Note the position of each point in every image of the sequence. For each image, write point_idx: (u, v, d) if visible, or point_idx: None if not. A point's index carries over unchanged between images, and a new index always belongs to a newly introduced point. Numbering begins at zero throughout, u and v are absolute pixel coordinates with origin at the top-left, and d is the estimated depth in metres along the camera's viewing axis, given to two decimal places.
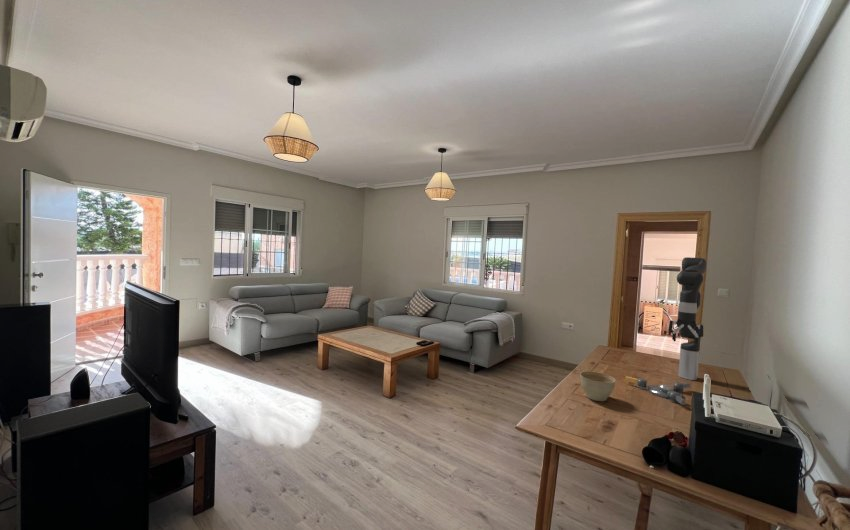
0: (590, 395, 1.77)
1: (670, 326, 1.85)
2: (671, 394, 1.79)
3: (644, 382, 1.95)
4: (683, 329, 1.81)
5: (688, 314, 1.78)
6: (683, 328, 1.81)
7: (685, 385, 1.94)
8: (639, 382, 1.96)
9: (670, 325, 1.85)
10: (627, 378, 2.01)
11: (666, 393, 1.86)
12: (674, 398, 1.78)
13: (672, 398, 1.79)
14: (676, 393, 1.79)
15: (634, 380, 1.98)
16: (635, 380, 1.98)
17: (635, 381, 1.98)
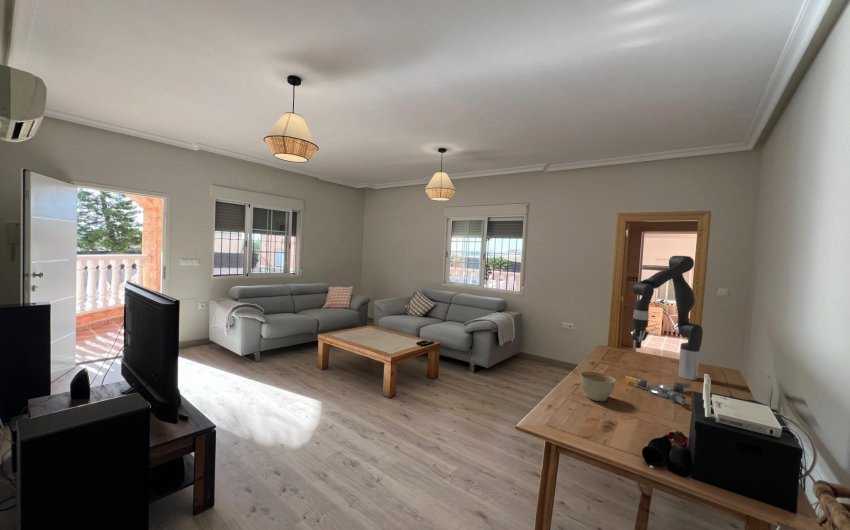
0: (590, 395, 1.77)
1: (636, 336, 2.03)
2: (671, 394, 1.79)
3: (644, 382, 1.95)
4: None
5: (647, 321, 2.02)
6: None
7: (685, 385, 1.94)
8: (639, 382, 1.96)
9: (635, 336, 2.03)
10: (627, 378, 2.01)
11: (666, 393, 1.86)
12: (674, 398, 1.78)
13: (672, 398, 1.79)
14: (676, 393, 1.79)
15: (634, 380, 1.98)
16: (635, 380, 1.98)
17: (635, 381, 1.98)
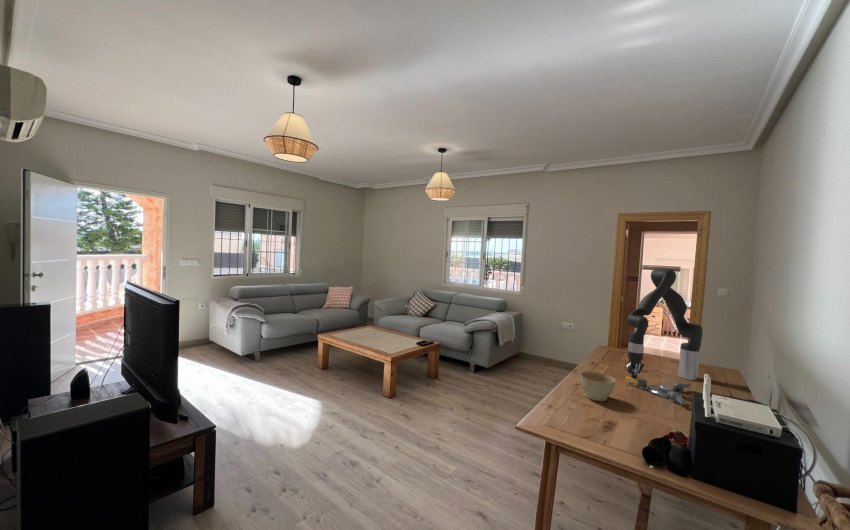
0: (590, 395, 1.77)
1: (631, 370, 1.98)
2: (671, 394, 1.79)
3: (644, 382, 1.95)
4: None
5: (642, 354, 1.98)
6: None
7: (685, 385, 1.94)
8: (639, 382, 1.96)
9: (631, 369, 1.98)
10: (627, 378, 2.00)
11: (666, 393, 1.86)
12: (674, 398, 1.78)
13: (672, 398, 1.79)
14: (676, 393, 1.79)
15: (634, 380, 1.98)
16: (635, 380, 1.98)
17: (635, 381, 1.98)
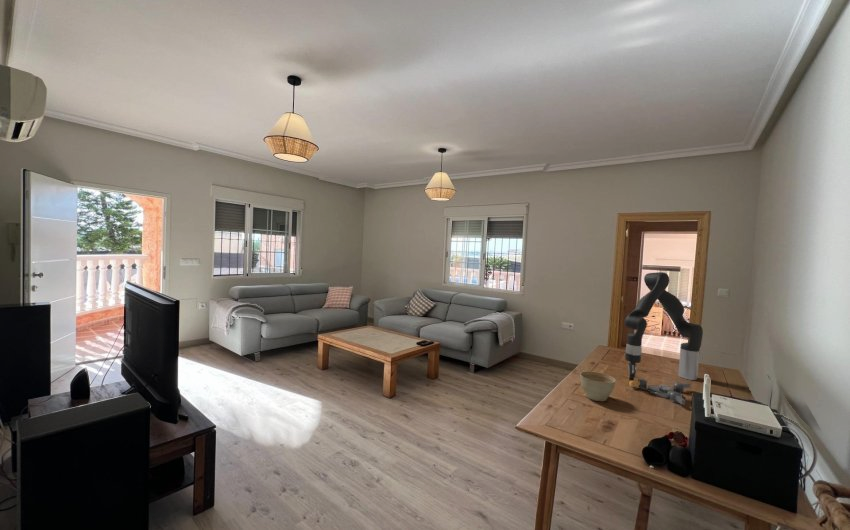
0: (590, 395, 1.77)
1: (635, 373, 1.94)
2: (671, 394, 1.79)
3: (646, 382, 1.95)
4: (634, 370, 1.96)
5: None
6: None
7: (685, 385, 1.94)
8: (643, 383, 1.95)
9: (635, 373, 1.93)
10: (632, 382, 1.94)
11: (666, 393, 1.86)
12: (674, 398, 1.78)
13: (672, 398, 1.79)
14: (676, 393, 1.79)
15: (637, 382, 1.95)
16: (638, 382, 1.95)
17: (638, 383, 1.95)
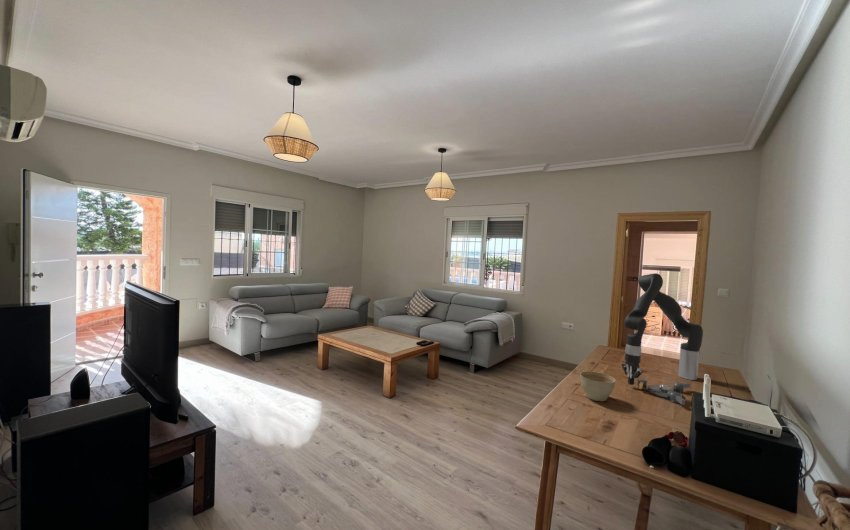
0: (590, 395, 1.77)
1: None
2: (671, 394, 1.79)
3: None
4: None
5: None
6: None
7: (685, 385, 1.94)
8: (646, 383, 1.95)
9: None
10: (642, 385, 1.91)
11: (666, 393, 1.86)
12: (674, 398, 1.78)
13: (672, 398, 1.79)
14: (676, 393, 1.79)
15: (643, 384, 1.93)
16: (643, 383, 1.94)
17: (643, 384, 1.94)
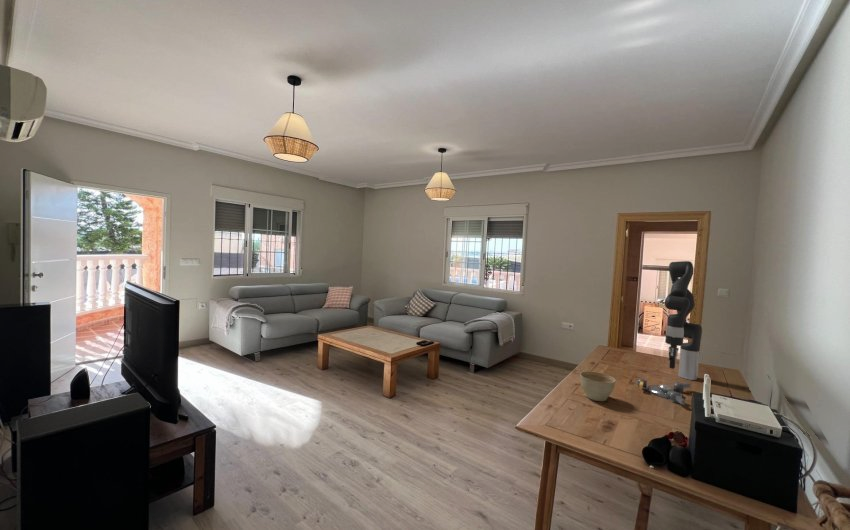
0: (590, 395, 1.77)
1: (675, 357, 1.81)
2: (671, 394, 1.79)
3: None
4: (675, 353, 1.83)
5: None
6: None
7: (685, 385, 1.94)
8: (646, 383, 1.95)
9: (674, 356, 1.81)
10: (642, 385, 1.91)
11: (666, 393, 1.86)
12: (674, 398, 1.78)
13: (672, 398, 1.79)
14: (676, 393, 1.79)
15: (643, 384, 1.93)
16: (643, 383, 1.94)
17: (643, 384, 1.94)
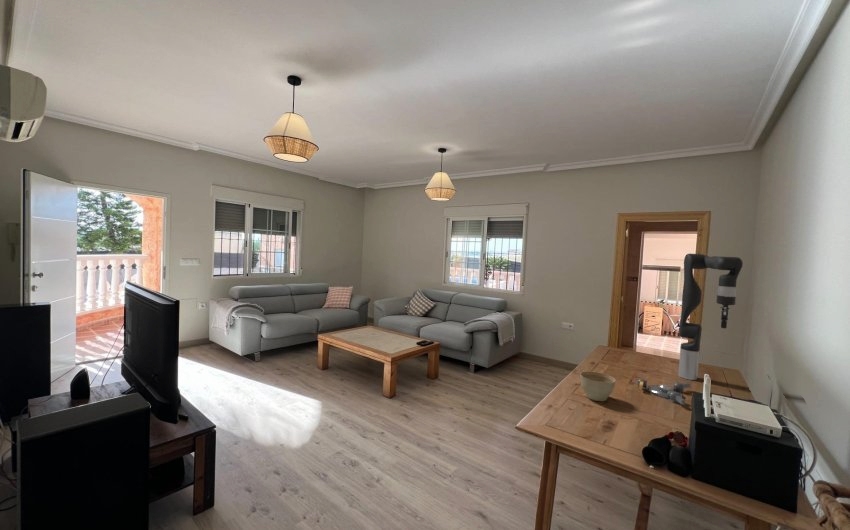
0: (590, 395, 1.77)
1: (727, 316, 1.83)
2: (671, 394, 1.79)
3: None
4: (727, 313, 1.85)
5: None
6: (727, 312, 1.85)
7: (685, 385, 1.94)
8: (646, 383, 1.95)
9: (727, 315, 1.83)
10: (642, 385, 1.91)
11: (666, 393, 1.86)
12: (674, 398, 1.78)
13: (672, 398, 1.79)
14: (676, 393, 1.79)
15: (643, 384, 1.93)
16: (643, 383, 1.94)
17: (643, 384, 1.94)
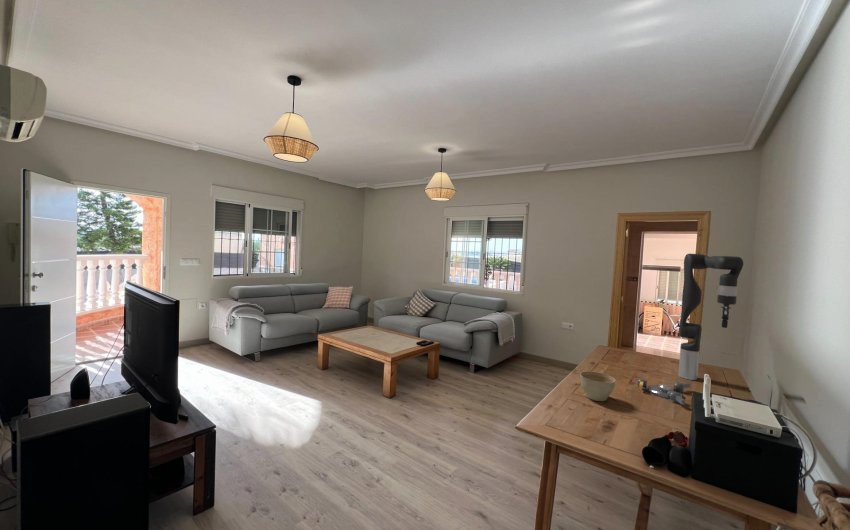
0: (590, 395, 1.77)
1: (728, 315, 1.83)
2: (671, 394, 1.79)
3: None
4: None
5: None
6: (728, 311, 1.85)
7: (685, 385, 1.94)
8: (646, 383, 1.95)
9: (728, 315, 1.83)
10: (642, 385, 1.91)
11: (666, 393, 1.86)
12: (674, 398, 1.78)
13: (672, 398, 1.79)
14: (676, 393, 1.79)
15: (643, 384, 1.93)
16: (643, 383, 1.94)
17: (643, 384, 1.94)
